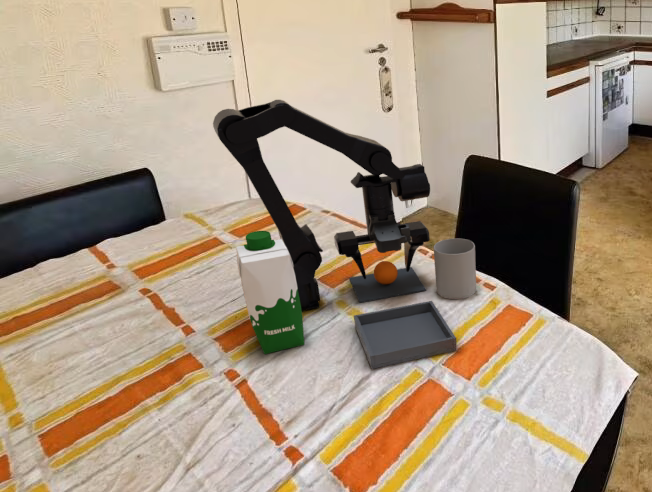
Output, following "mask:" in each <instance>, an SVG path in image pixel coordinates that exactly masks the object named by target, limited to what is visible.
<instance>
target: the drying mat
mask: <svg viewBox="0 0 652 492" xmlns="http://www.w3.org/2000/svg"><path fill="white" fill-rule="evenodd" d="M397 271H398V274H397V278H396V280H395V281H394V282H393V283H391V284H387V285H385V284H381V283H379V282H378V281H377V280H376V279H375V277H374V273H369V274H366V279H364V278H363V276H362V275H356V276H351V277H349V282H350V284H351V286H352V288H353V291H354V293H355V295H356V297H357V300H358V302H359V304H362V303H367V302H373V301H379V300H384V299H389V298H395V297H400V296H406V295H411V294H416V293H422V292H423V293H424V292H427V288H426V287H425V285H424V284H423V282H422V281H421V279H420V277H419V276H418V275H417V273H416V272H415V270H414V269H413V266H410V269H409V272H407V271H406V267H404V268H397Z"/></svg>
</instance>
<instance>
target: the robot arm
mask: <svg viewBox="0 0 652 492" xmlns="http://www.w3.org/2000/svg"><path fill="white" fill-rule="evenodd" d="M212 128H213V130H214V132H215V134H216V135H217V137H218V139H219V141H220V142H221V143H222V145H223V146H224V147H225V148H226V150H227V151H228V152H229V153H230V154H231V155H232V157H233V158H234V159H235V160H236V162H238V164H240V166H241V167H242V169H243V171H244V172H245V174H246V175H247V178H248V179H249V181H250V183H251V184H252V186H253V188H254V190H255V192H256V193H257V195H258V197H259V198H260V200H261V202H262V204H263V205H264V207H265V209H266V211H267V213H268V214H269V215H270V217H271V219H272V222H273V223H274V225H275V227H276V228H277V231H278V235H279V236H278V237H279V239H282V241H283V243H284V244H285V246H286V248H287V249H288V251H289V254H290V256H291V259H292V262H293V265H294V267H293V269H294V273H295V277H296V282H297V288H298V293H299V299H300V304H301V310H302V312H304V311H311V310H315V309H319V308H320V307H321V306H320V303H319V302H321V294H320V289H319V283H318V280H317V278H316V277H315V275H316V271H317V270H318V269H319V268H320V266H321V264H322V262H323V257H322V253H323V252H324V250H323V249H322V247H321V246H320V244H319V243H318V242H317V240H316V236H315V234H314V232H313V231H312V229H311V228H310V227H309V225H308V224H307V223H305V224H304V225H303V226H300V225H299V224H298V222H297V221H296V219H295V217H294V215H293V213H292V211H291V210H290V207H289V206H288V204H287V202H286V200H285V199H284V196H283V194H282V193H281V191H280V189H279V187H278V186H277V183H276V181H275V180H274V178H273V176H272V174H271V172H270V171H269V168H268V167H267V165H266V164H265V161H264V159H263V154H262V150H261V146H260V144H259V141H258V139H260V138H263V137H265V136H268V135H269V134H271V133H273V132H275V131H276V130H278V129H282V128H286V129H289V130H291V131H293V132H296V133H298V134H300V135H302V136H304V137H306V138H309V139H310V140H312V141H314V142H317V143H319V144H321V145H323V146H325V147H327V148H330V149H332V150H334V151H336V152H339V154H342V155H344V156H345V157H346V158H348V159H349V160H351V161H352V162H353V163H355V164H356V165H358V166H359V167H361V169H363V170H365V171H366V172H368V173H369V174H367V175H363V174H362V173H361V172H360V171H358V172H357V173H356V175H355V176H354V177H353V178H351V180H350V184H351V185H352V186H354V187H355V189H360V188H361V189H362V198H363V207H364V215H365V224H366V232H367V234H360V235H356V233H355V232H354V230H349V231H348V230H347V231H342V232H336V233H335V234H334V236H333V240H334V246H335V248H336V250H337V252H338V255H340V256H345V258H352V259H353V261H354V263H355V264H356V266H357V267H358V270H359V272H360V274H361V276H363V278H364V279H366V275H367V273H366V270H365V266H364V263H363V258H362V253H361V251H360V248H359V247H360V246H363V245H370V244H375V247H376V250H377V252H378V253H380V254H385V253H387V252H393V251H395V252H398V251H400V250H402V244H403V251H404V268H406V271H407V272H409V269H410V267H412V266H411V265H412V262H413V259H414V255H415V253H416V251H417V249H418V248H419V247H423V246H424V243H428V242H429V241H431V239H430V231H429V229H428V227H427V226H426V225H425V224H424V223H423V221H421V220H418V221H410V222H405V223H398V222H397V219H396V214H395V210H394V199H393V196H394V198H398V200H399V202H408V201H414V200H420V199H425V198H428V197H430V194H431V184H430V182H429V179H428V176H427V173H426V171H425V166H424V165H422V164H421V163H417V164H413V165H410V166H403V167H399V166H397V165H396V164H395V163H394V162H393V156H392V154H391V151H390V150H389V149H388V148H386V146H384V145H383V144H381V143H379V142H378V141H376V140H375V139H372V138H368V137H365V136H361V135H358V134H353V133H349V132H345V131H343V130H341V129H339V128H337V127H335V126H333V125H331V124H329V123H327V122H325V121H323V120H320V119H319V118H317V117H316V116H315V117H314V116H313V115H310V114H308V113H307V112H305V111H302V110H300V109H299V108H297V107H294V106H292V105H291V104H289V103H288V102H287V101H285V100H283V99H274V100H272V101H270V102H267V103H266V102H265V103H263V104H258V105H253V106H248V107H245V108H242V109H239V110H237V109H235V108H234V109H233V108H225V109H222V110H220V111H218V112H217V114H215V116H214V119H213V121H212ZM381 175H383V176H381ZM293 265H292V266H293Z"/></svg>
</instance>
